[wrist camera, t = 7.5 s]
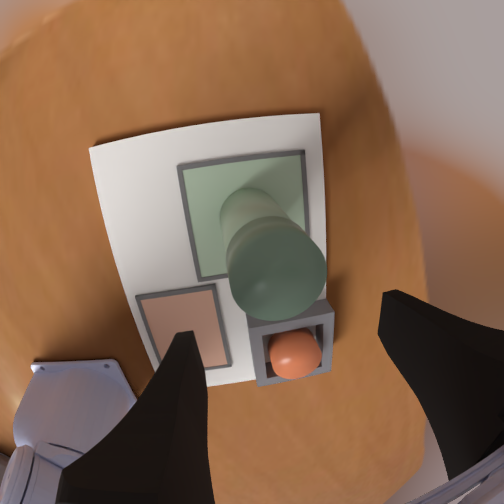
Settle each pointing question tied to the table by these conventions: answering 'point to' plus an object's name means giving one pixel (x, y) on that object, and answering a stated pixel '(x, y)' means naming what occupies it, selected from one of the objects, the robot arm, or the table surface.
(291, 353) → the button
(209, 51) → the table surface
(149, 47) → the table surface
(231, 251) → the green rounded cylinder
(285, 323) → the picture board
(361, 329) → the table surface
